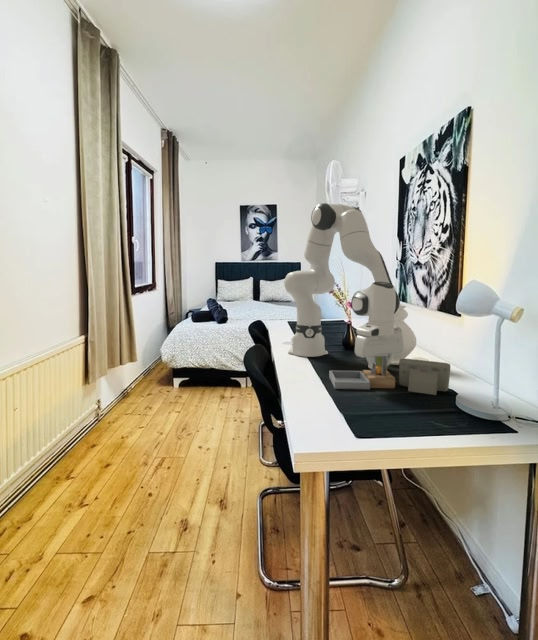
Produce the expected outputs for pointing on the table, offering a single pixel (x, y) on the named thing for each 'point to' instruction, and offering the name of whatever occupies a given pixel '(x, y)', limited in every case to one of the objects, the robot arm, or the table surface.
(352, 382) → the tray
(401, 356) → the decorative vase
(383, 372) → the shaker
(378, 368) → the ball
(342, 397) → the table surface
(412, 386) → the digital clock
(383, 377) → the stand
